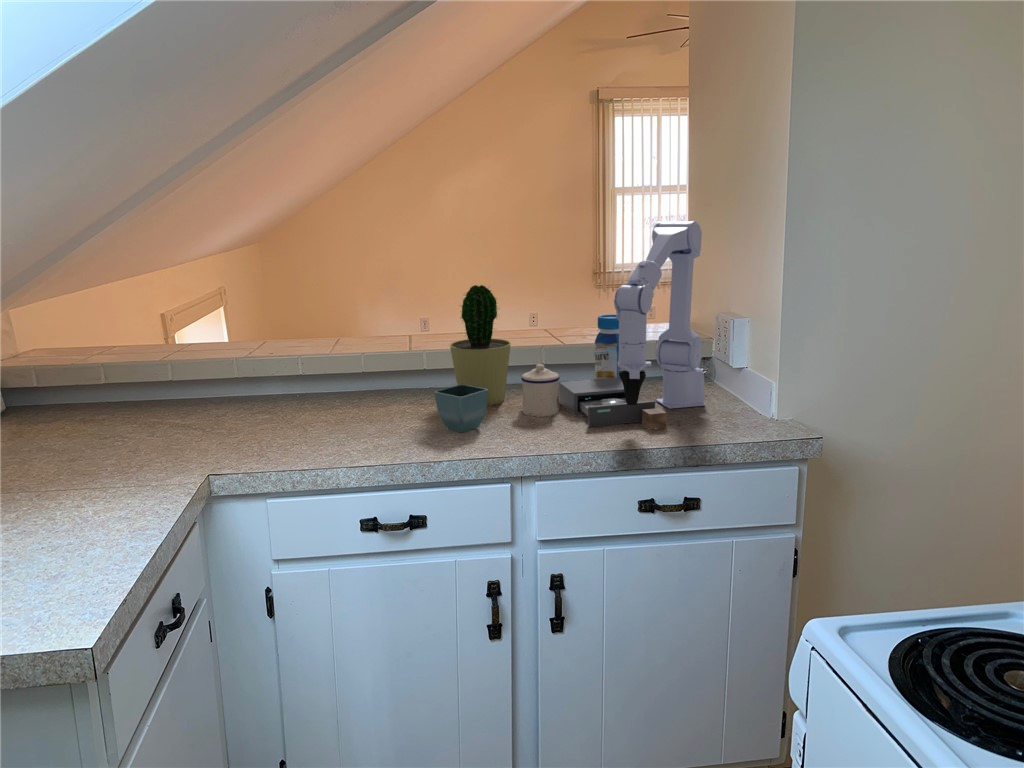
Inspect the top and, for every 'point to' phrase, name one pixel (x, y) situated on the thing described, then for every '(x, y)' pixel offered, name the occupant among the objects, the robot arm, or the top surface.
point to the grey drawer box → (588, 392)
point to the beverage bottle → (607, 348)
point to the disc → (611, 401)
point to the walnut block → (654, 418)
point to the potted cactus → (481, 346)
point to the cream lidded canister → (540, 392)
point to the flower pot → (461, 406)
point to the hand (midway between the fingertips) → (631, 404)
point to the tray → (614, 412)
